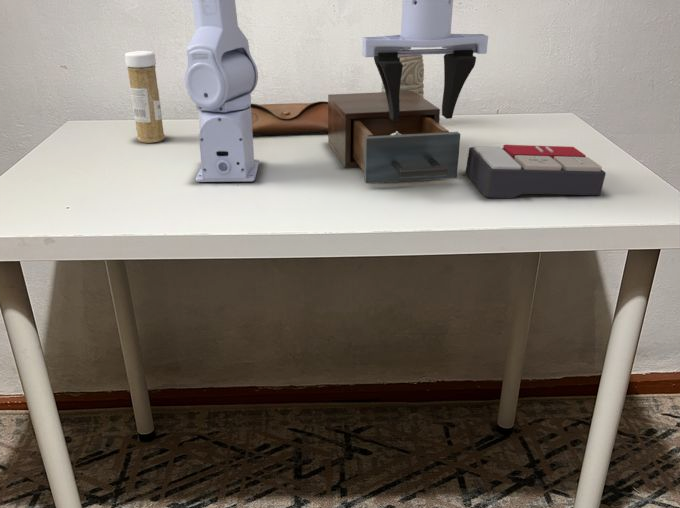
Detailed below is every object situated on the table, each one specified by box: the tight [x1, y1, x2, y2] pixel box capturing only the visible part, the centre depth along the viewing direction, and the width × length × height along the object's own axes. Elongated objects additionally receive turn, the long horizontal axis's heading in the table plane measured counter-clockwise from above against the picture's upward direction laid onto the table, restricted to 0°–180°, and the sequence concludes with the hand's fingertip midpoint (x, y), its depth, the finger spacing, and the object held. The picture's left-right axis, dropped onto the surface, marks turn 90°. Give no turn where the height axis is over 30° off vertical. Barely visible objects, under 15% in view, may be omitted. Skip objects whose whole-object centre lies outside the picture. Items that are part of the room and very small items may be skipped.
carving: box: [381, 49, 425, 99], centre depth 121 cm, size 6×8×12 cm
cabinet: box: [327, 91, 441, 169], centre depth 106 cm, size 14×14×8 cm
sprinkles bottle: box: [124, 50, 166, 144], centre depth 112 cm, size 5×5×13 cm
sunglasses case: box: [251, 100, 328, 136], centre depth 120 cm, size 18×7×7 cm
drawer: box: [351, 115, 461, 185], centre depth 94 cm, size 18×12×6 cm
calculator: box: [465, 144, 607, 199], centre depth 93 cm, size 11×4×15 cm
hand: (420, 118), depth 86 cm, fingers open, 6 cm apart
